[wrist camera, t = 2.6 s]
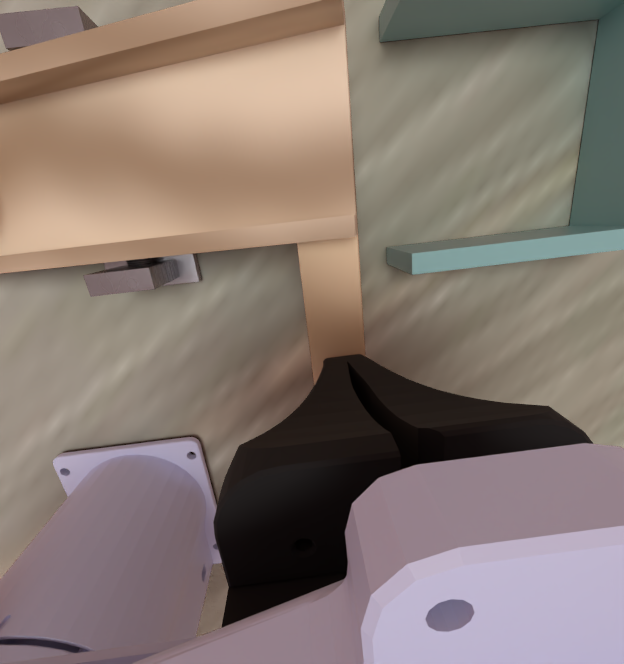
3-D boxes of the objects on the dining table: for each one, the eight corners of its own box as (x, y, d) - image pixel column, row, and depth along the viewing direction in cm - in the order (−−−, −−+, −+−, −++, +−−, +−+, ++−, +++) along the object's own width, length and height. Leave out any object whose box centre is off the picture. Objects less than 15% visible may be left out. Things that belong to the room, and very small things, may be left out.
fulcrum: (201, 279, 15) (177, 294, 12) (118, 289, 15) (72, 306, 12) (150, 50, 12) (101, -10, 9) (47, 61, 12) (-38, 4, 9)
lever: (369, 428, 14) (369, 478, 11) (28, 424, 17) (-33, 461, 15) (344, 13, 9) (335, -68, 6) (-113, 122, 13) (-238, 99, 10)
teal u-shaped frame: (582, 240, 16) (659, 245, 13) (386, 263, 16) (412, 274, 12) (622, -9, 13) (738, -90, 9) (379, 17, 13) (409, -58, 9)
